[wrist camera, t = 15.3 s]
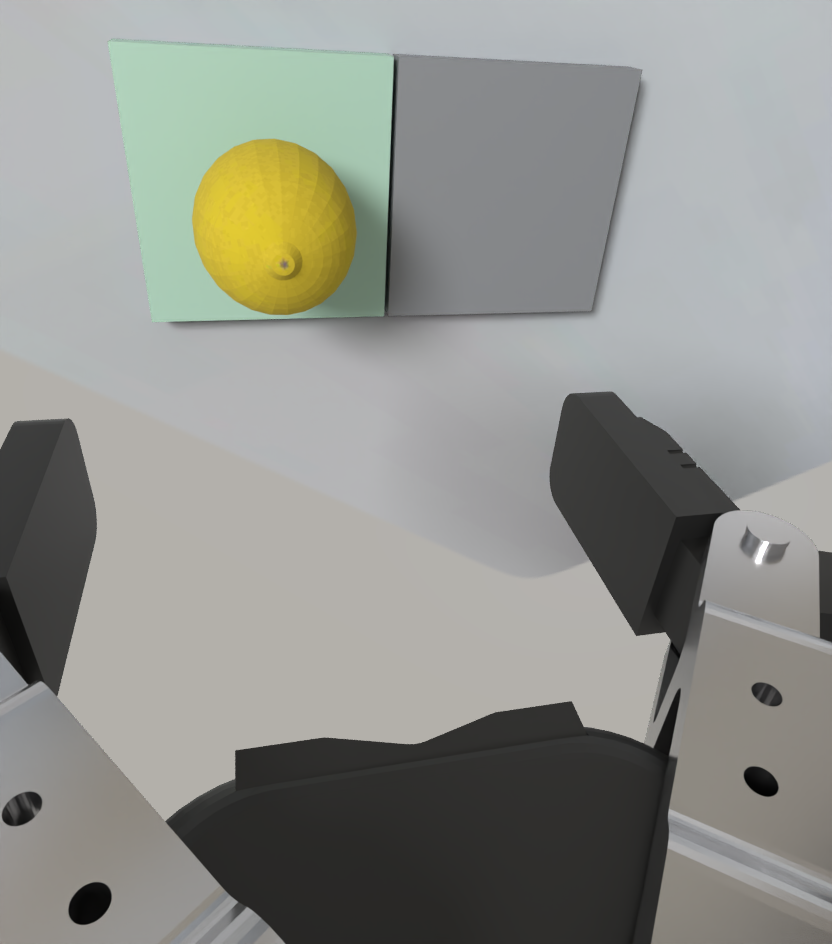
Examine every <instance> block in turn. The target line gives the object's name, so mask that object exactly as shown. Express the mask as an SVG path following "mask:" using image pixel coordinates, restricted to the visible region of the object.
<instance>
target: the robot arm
mask: <svg viewBox="0 0 832 944" xmlns="http://www.w3.org/2000/svg"><path fill="white" fill-rule="evenodd" d="M550 487H551V492H552V496H553V499H554V501H555V503H556V505H557V507H558V508H559V510H560V511H561V513H562V515H563V516H564V518H565V520H566V521H567V523H568V525H569V526H570V528H571V530H572V531H573V533H574V534H575V536H576V538H577V539H578V541H579V543H580V544H581V546H582V548H583V549H584V551H585V553H586V554H587V556H588V557H589V559H590V561H591V562H592V564H593V566H594V567H595V569H596V571H597V572H598V574H599V576H600V577H601V579H602V580H603V582H604V583H605V585H606V587H607V589H608V590H609V592H610V594H611V595H612V597H613V599H614V600H615V602H616V603H617V605H618V606H619V608H620V610H621V612H622V613H623V615H624V617H625V618H626V620H627V622H628V623H629V625H630V626H631V628H632V630H633V631H634V633H635V635H636V636H639V635H646V634H654V633H662V632H666V634H667V635H668V637H669V638H670V643H669V645H668V648H667V651H666V653H665V656H664V660H663V665H662V669H661V673H660V678H659V682H658V687H657V691H656V695H655V699H654V704H653V708H652V713H651V717H650V721H649V725H648V729H647V734H646V738H645V742H644V743H641V742H639V741H636V740H634V739H632V738H629V737H626V736H623V735H619V734H616V733H613V732H609V731H605V730H599V729H594V728H588V727H583V725H582V723H581V721H580V718H579V716H578V714H577V712H576V710H575V707H574V705H573V703H572V702H564V703H557V704H550V705H543V706H536V707H530V708H523V709H516V710H510V711H503V712H496V713H493V714H490V715H488V716H486V717H483V718H481V719H478V720H476V721H474V722H471V723H469V724H466V725H464V726H461V727H459V728H457V729H454V730H452V731H449V732H447V733H445V734H443V735H440V736H437V737H435V738H433V739H430V740H428V741H426V742H422V743H419V744H397V743H396V744H395V743H384V742H372V741H360V740H359V741H358V740H348V739H336V738H318V739H311V740H304V741H297V742H291V743H284V744H277V745H270V746H263V747H257V748H250V749H243V750H236V751H235V757H236V759H235V761H236V762H235V766H236V767H235V769H236V771H235V776H236V778H235V780H232V781H229V782H227V783H224V784H222V785H219V786H217V787H216V788H214V789H212V790H210V791H208V792H207V793H204V794H203V795H201V796H199V797H197V798H196V799H194V800H193V801H191V802H190V803H188V804H187V805H185V806H184V807H182V808H181V809H179V810H178V811H177V812H176V813H175V814H173V815H172V816H171V817H170V818H169V819H167V820H166V821H164V820H163V819H162V817H161V816H160V815H159V814H158V813H157V812H156V811H155V809H154V808H153V807H152V806H151V805H150V804H149V802H148V801H147V800H146V799H145V798H144V797H143V796H142V794H141V793H140V792H139V791H138V790H137V789H136V787H135V786H134V785H133V784H132V783H131V782H130V781H129V779H128V778H127V777H126V776H125V775H124V774H123V772H122V771H121V770H120V769H119V768H118V767H117V766H116V764H115V763H114V762H113V761H112V760H111V759H110V757H108V755H107V754H106V753H105V752H104V751H103V750H102V748H101V747H100V746H99V745H98V744H97V743H96V741H95V740H94V739H93V738H92V737H91V736H90V734H89V733H88V732H87V731H86V730H85V729H84V727H83V726H82V725H81V724H80V723H79V722H78V721H77V719H75V717H74V716H73V715H72V714H71V713H70V711H69V710H68V709H67V708H66V707H65V706H64V704H63V703H62V702H61V701H60V700H59V699H58V697H57V695H58V691H59V687H60V683H61V679H62V675H63V671H64V667H65V662H66V658H67V654H68V650H69V646H70V642H71V638H72V634H73V630H74V626H75V622H76V617H77V614H78V609H79V605H80V601H81V597H82V593H83V589H84V585H85V581H86V577H87V572H88V569H89V564H90V560H91V556H92V552H93V548H94V544H95V539H96V529H97V522H96V520H97V519H96V508H95V502H94V498H93V494H92V490H91V486H90V482H89V478H88V474H87V470H86V466H85V462H84V458H83V454H82V450H81V446H80V442H79V438H78V434H77V431H76V428H75V425H74V423H73V422H72V420H70V419H51V420H32V421H17V422H15V423H13V425H12V427H11V429H10V431H9V433H8V435H7V437H6V439H5V441H4V443H3V445H2V447H1V449H0V944H832V553H830V552H823V551H818V550H817V547H816V545H815V544H814V543H813V541H812V540H811V539H810V538H809V537H808V536H807V535H806V534H805V533H804V532H803V531H801V530H800V529H799V528H797V527H796V526H794V525H793V524H791V523H789V522H787V521H785V520H783V519H780V518H778V517H775V516H772V515H769V514H766V513H762V512H756V511H748V510H740V509H739V508H738V507H737V506H736V505H735V504H734V503H733V502H732V501H731V500H730V499H729V498H728V497H727V496H726V495H725V493H724V492H723V491H722V490H721V489H720V488H719V487H718V486H717V485H716V484H715V483H714V482H713V481H712V480H711V479H710V478H709V477H708V475H707V474H706V473H705V472H704V471H703V470H702V469H701V468H700V467H696V463H695V462H694V461H693V460H692V459H691V458H690V456H689V455H688V454H687V453H683V449H682V448H681V447H680V446H679V445H678V444H677V443H676V442H675V441H674V440H673V438H672V437H671V436H670V435H669V434H668V433H667V432H666V431H664V430H662V429H660V428H659V427H657V426H655V425H653V424H652V423H650V422H648V421H647V420H645V419H643V418H641V417H639V418H637V417H636V416H635V415H634V414H633V413H632V411H631V410H630V409H629V408H628V407H627V406H626V405H625V404H624V403H623V402H622V400H621V399H620V398H619V397H618V396H617V395H616V394H615V393H613V392H593V393H574V394H569V395H568V396H567V397H566V399H565V401H564V403H563V407H562V411H561V416H560V421H559V426H558V431H557V436H556V442H555V447H554V452H553V457H552V462H551V467H550Z"/></svg>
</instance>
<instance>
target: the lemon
mask: <svg viewBox="0 0 832 944" xmlns="http://www.w3.org/2000/svg"><path fill="white" fill-rule="evenodd" d="M192 225H193V233H194V241H195V245H196V248H197V250H198V253H199V255H200V258H201V260H202V263H203V265H204V267H205V269H206V270H207V272H208V273H209V274H210V276H211V277H212V279H213V280H214V281H215V283H216V284H217V286H218V287H219V288H220V289H222V290H223V291H224V292H225V293H226V294H227V295H228V296H230V297H231V298H232V299H233V300H234V301H236V302H238V303H240V304H242V305H243V306H245V307H247V308H249V309H251V310H254V311H258V312H261V313H265V314H269V315H291V314H296V313H300V312H305V311H307V310H309V309H311V308H313V307H315V306H317V305H319V304H321V303H322V302H324V301H325V300H326V299H327V298H328V297H330V296H331V295H332V294H333V293H334V292H335V291H336V290H337V288H338V287H339V286H340V284H341V283H342V281H343V280H344V279H345V277H346V276H347V273H348V270H349V268H350V265H351V263H352V260H353V257H354V252H355V244H356V236H357V230H356V222H355V213H354V208H353V206H352V203H351V200H350V198H349V195H348V193H347V190H346V188H345V186H344V185H343V183H342V182H341V180H340V179H339V177H338V176H337V175H336V173H335V172H334V170H333V169H332V168H331V167H330V166H329V165H328V164H327V163H326V162H325V161H323V160H322V159H321V158H320V157H319V156H318V155H317V154H315V153H314V152H312V151H310V150H308V149H306V148H304V147H302V146H300V145H298V144H296V143H293V142H288V141H283V140H279V139H257V140H251V141H249V142H246V143H243V144H240V145H237V146H234V147H233V148H231V149H230V150H229V151H227V152H226V153H224V154H223V155H221V156H220V157H219V158H217V160H216V161H215V162H214V163H213V164H212V166H211V167H210V168H209V169H208V171H207V172H206V173H205V174H204V176H203V178H202V180H201V183H200V185H199V188H198V190H197V192H196V195H195V199H194V207H193V215H192Z"/></svg>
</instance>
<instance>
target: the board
mask: <svg viewBox="0 0 832 944" xmlns="http://www.w3.org/2000/svg"><path fill="white" fill-rule="evenodd" d="M108 47H109V53H110V59H111V66H112V72H113V78H114V85H115V91H116V97H117V104H118V110H119V116H120V123H121V129H122V135H123V141H124V148H125V154H126V160H127V167H128V173H129V179H130V186H131V192H132V198H133V205H134V211H135V217H136V224H137V230H138V236H139V243H140V249H141V255H142V261H143V268H144V274H145V280H146V287H147V293H148V299H149V306H150V312H151V318H152V322H174V321H214V320H254V319H293V318H333V317H373V316H384V308H385V310H386V312H387V314H388V316H412V315H452V314H492V313H532V312H571V311H592V306H593V301H594V297H595V292H596V287H597V282H598V278H599V273H600V268H601V263H602V259H603V254H604V249H605V244H606V240H607V235H608V230H609V226H610V221H611V216H612V211H613V207H614V202H615V197H616V192H617V188H618V183H619V178H620V173H621V169H622V164H623V159H624V154H625V150H626V145H627V140H628V136H629V131H630V126H631V121H632V117H633V112H634V107H635V102H636V98H637V93H638V88H639V83H640V79H641V74H642V70H641V69H636V68H632V67H624V66H605V65H587V64H568V63H550V62H531V61H513V60H494V59H476V58H457V57H439V56H420V55H402V54H393V56H391V55H389V54H383V53H365V52H346V51H328V50H309V49H291V48H272V47H253V46H235V45H216V44H198V43H179V42H161V41H142V40H124V39H111V40H109V41H108ZM257 139H279V140H283V141H288V142H293V143H296V144H298V145H300V146H302V147H304V148H306V149H308V150H310V151H312V152H314V153H315V154H317V155H318V156H319V157H320V158H321V159H322V160H323V161H325V162H326V163H327V164H328V165H329V166H330V167H331V168H332V169H333V170H334V172H335V173H336V175H337V176H338V177H339V179H340V180H341V182H342V183H343V185H344V186H345V188H346V190H347V193H348V195H349V198H350V200H351V203H352V206H353V208H354V213H355V222H356V230H357V236H356V244H355V252H354V257H353V260H352V263H351V265H350V268H349V270H348V273H347V276H346V277H345V279H344V280H343V281H342V283H341V284H340V286H339V287H338V288H337V290H336V291H335V292H334V293H333V294H332V295H331V296H330V297H328V298H327V299H326V300H325V301H324V302H322V303H321V304H319V305H317V306H315V307H313V308H311V309H309V310H307V311H305V312H300V313H296V314H291V315H269V314H265V313H261V312H258V311H254V310H251V309H249V308H247V307H245V306H243V305H242V304H240V303H238V302H236V301H234V300H233V299H232V298H231V297H230V296H228V295H227V294H226V293H225V292H224V291H223V290H222V289H220V288H219V287H218V286H217V284H216V283H215V281H214V280H213V279H212V277H211V276H210V274H209V273H208V272H207V270H206V269H205V267H204V265H203V263H202V260H201V258H200V255H199V253H198V250H197V248H196V245H195V241H194V233H193V225H192V215H193V207H194V199H195V195H196V192H197V190H198V188H199V185H200V183H201V180H202V178H203V176H204V174H205V173H206V172H207V171H208V169H209V168H210V167H211V166H212V164H213V163H214V162H215V161H216V160H217V158H219V157H220V156H221V155H223V154H224V153H226V152H227V151H229V150H230V149H231V148H233V147H234V146H237V145H240V144H243V143H246V142H249V141H251V140H257Z"/></svg>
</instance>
